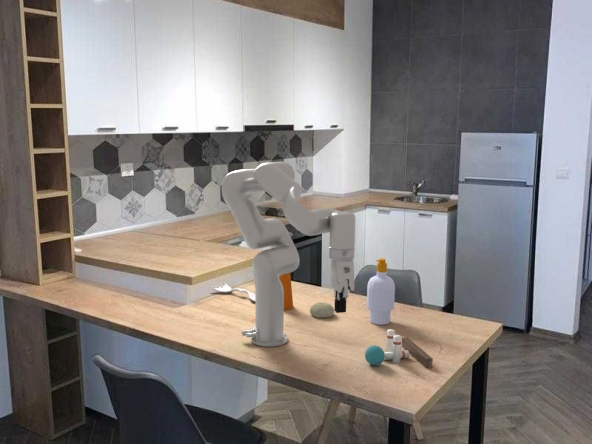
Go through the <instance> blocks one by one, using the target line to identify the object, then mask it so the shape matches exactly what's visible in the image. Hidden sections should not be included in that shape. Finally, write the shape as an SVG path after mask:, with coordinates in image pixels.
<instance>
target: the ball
mask: <svg viewBox="0 0 592 444" xmlns="http://www.w3.org/2000/svg"><path fill="white" fill-rule="evenodd" d="M384 352H385V351H384V349H383V348H381V347H380V346H378V345H375V344H374V345H370V346H369V347H367V349H365V352H364V358H365V361H366V362H367V363H368V364H369V365H370V366H371V365H372V366H379V365H381V364H382V363H383V362H384V361H385V360H384V357H385V355H384Z"/></svg>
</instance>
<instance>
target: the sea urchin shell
mask: <svg viewBox="0 0 592 444" xmlns="http://www.w3.org/2000/svg"><path fill="white" fill-rule="evenodd" d="M334 308H335V307H334V306H333V305H332V304H331V303H327V302H316V303H314V304H312V305H311V307H310V309H309V312H310V315H312V316H313V317H314V318H318V319H329V318H331V317H333V316H334V313H335V310H334Z"/></svg>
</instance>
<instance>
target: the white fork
mask: <svg viewBox="0 0 592 444" xmlns="http://www.w3.org/2000/svg"><path fill="white" fill-rule="evenodd" d="M212 290H213V291H215V292H219V293H224V294H227V293H232V292H234V291H237V292H240V293H245V294H247V295H248V297H249V299H250V300H251V301H253V302H255V303H256V301H255V293H254V292H251V291H249V290H246V288H239V287H237V288H232V287H231V286H229V285H228V284H227V283H225V285H223V286H222V285H221V287H220V286H219V288H213V289H212Z"/></svg>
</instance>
